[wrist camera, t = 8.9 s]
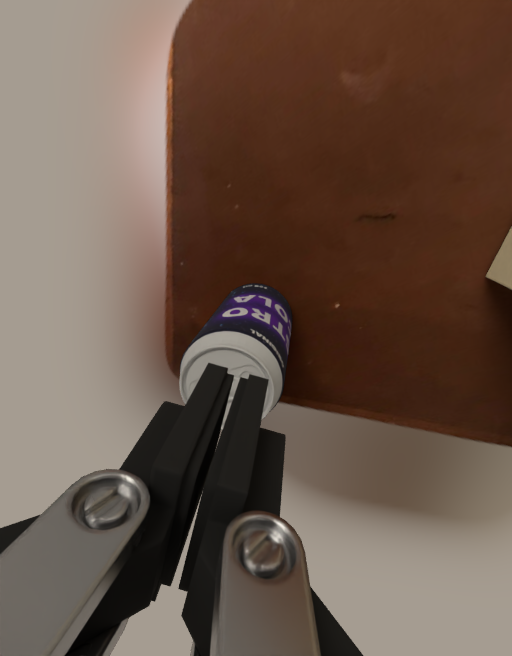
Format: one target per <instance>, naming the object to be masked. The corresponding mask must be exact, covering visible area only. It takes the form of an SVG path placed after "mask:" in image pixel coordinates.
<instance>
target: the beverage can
mask: <svg viewBox="0 0 512 656" xmlns="http://www.w3.org/2000/svg"><path fill="white" fill-rule="evenodd" d="M291 328H292V312H291V309H290V306H289V304H288V302H287V300H286V299H285V298H284V297H283V295H282V294H281V293H279V292H278V291H277V290H275V289H274V288H272V287H269V286H267V285H263V284H246V285H243V286H240V287H238V288H236V289H235V290H233V291H232V292H231V293H230V294H229V295H228V296H227V297H226V299H225V300H224V301H223V302H222V304H221V305H220V306H219V308H218V309H217V310H216V311H215V313H214V314H213V315H212V317H211V318H210V319H209V320H208V322H207V323H206V324H205V326H204V327H203V328H202V329H201V331H200V332H199V333H198V334H197V336H196V337H195V338H194V340H193V341H192V342H191V343H190V345H189V346H188V347H187V349H186V351H185V352H184V354H183V357H182V360H181V364H180V380H179V385H180V392H181V396H182V399H183V401H184V403H185V405H186V403H187V401H188V399H189V397H190V395H191V394H192V392H193V390H194V388H195V386H196V384H197V383H198V381H199V379H200V377H201V375H202V373H203V372H204V370H205V368H206V366H207V364H208V363H212V364H216V365H219V366H223V367H226V368H228V372H227V373H228V374H232V375H234V379H233V383H232V387H231V391H230V395H229V399H228V403H227V407H226V411H225V415H224V419H223V422H222V426H221V430H223V427H224V424H225V421H226V418H227V415H228V412H229V409H230V406H231V403H232V400H233V397H234V394H235V391H236V388H237V385H238V382H239V379H240V377H242V378H246V379H248V377H249V374H251V375H255V376H259V377H262V378H266V379H269V381H268V387H267V392H266V398H265V403H264V408H263V414H262V419H264V418H265V416H266V415H267V414H268V412H270V411H271V410H272V409H273V408H274V407H275V406H276V404H277V403H278V401H279V400H280V397H281V395H282V392H283V388H284V381H285V374H286V366H287V359H288V351H289V344H290V336H291ZM262 419H261V420H262Z"/></svg>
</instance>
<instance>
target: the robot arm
mask: <svg viewBox="0 0 512 656" xmlns="http://www.w3.org/2000/svg"><path fill="white" fill-rule="evenodd" d="M227 372H228V368H226V367H223V366H219V365H216V364H212V363H208V364H207V366H206V368H205V370H204V372H203V373H202V375H201V377H200V379H199V381H198V383H197V384H196V386H195V388H194V390H193V392H192V394H191V395H190V397H189V399H188V401H187V403H186V405H185V406H182V405H178V404H174V403H171V402H167V401H165V402H164V403H163V404H162V405H161V407H160V408H159V410H158V411H157V413H156V414H155V416H154V417H153V419H152V420H151V422H150V423H149V425H148V426H147V428H146V429H145V431H144V433H143V434H142V436H141V437H140V439H139V440H138V442H137V443H136V445H135V446H134V448H133V450H132V451H131V452H130V454H129V455H128V457H127V459H126V460H125V462H124V463H123V465H122V466H121V468H120V469H119V470H115V469H106V470H101V471H95V472H93V473H90V474H88V475H86V476H83V477H82V478H80V479H79V480H78V481H76V482H75V483H74V484H72V485H71V486H70V487H69V488H68V489H67V490H66V491H65V492H64V493H63V494H62V495H61V496H60V497H59V498H58V499H57V500H56V501H55V502H54V503H53V504H52V505H51V506H50V507H49V508H48V509H47V510H46V511H44V512H43V513H42V514H41V515H38V516H35V517H32V518H29V519H27V520H24V521H20V522H18V523H15V524H12V525H9V526H6V527H3V528H0V656H110V654H111V652H112V651H113V649H114V647H115V645H116V644H117V642H118V640H119V638H120V636H121V635H122V633H123V631H124V629H125V627H126V624H127V622H128V619H129V617H131V616H132V615H134V614H136V613H138V612H139V611H141V610H143V609H145V608H146V607H148V606H149V605H150V602H151V601H155V600H156V597H157V594H158V592H159V589H160V586H161V584H163V585H167V586H171V583H172V581H173V578H174V575H175V572H176V569H177V566H178V563H179V560H180V557H181V554H182V551H183V548H184V545H185V542H186V539H187V536H188V533H189V530H190V527H191V524H192V521H193V518H194V515H195V512H196V509H197V506H198V503H199V500H200V497H201V501H200V504H199V508H198V512H197V517H196V520H195V525H194V529H193V532H192V537H191V540H190V544H189V549H188V552H187V556H186V560H185V564H184V568H183V572H182V577H181V580H180V584H179V589H180V590H184V591H187V592H188V593H187V597H186V600H185V604H184V608H183V612H182V618H183V620H184V622H185V624H186V626H187V628H188V630H189V632H190V634H191V636H192V638H193V644H192V648H191V654H190V656H363V655H362V653H361V652H360V651H359V649H358V648H357V647H356V646H355V644H354V643H353V642H352V640H351V639H350V638H349V636H348V635H347V634H346V632H345V631H344V630H343V628H342V627H341V626H340V625H339V623H338V622H337V621H336V620H335V618H334V617H333V615H332V614H331V613H330V611H329V610H328V609H327V608H326V606H325V605H324V604H323V602H322V601H321V600H320V599H319V597H318V596H317V595H316V593H315V592H314V591H313V589H312V588H311V587H310V583H309V575H308V570H307V562H306V557H305V551H304V548H303V544H302V541H301V539H300V537H299V536H298V534H297V533H296V531H295V529H294V528H293V527H292V526H291V525H289V524H288V523H287V522H286V521H285V520H284V519H282V518H280V505H281V492H282V478H283V464H284V451H285V435H284V434H281V433H277V432H274V431H270V430H267V429H263V428H260V425H261V419H262V414H263V408H264V403H265V398H266V392H267V387H268V381H269V379H266V378H262V377H259V376H255V375H251V374H249V377H248V379H246V378H242V377H240V379H239V382H238V385H237V388H236V391H235V394H234V397H233V400H232V403H231V406H230V409H229V412H228V415H227V418H226V421H225V424H224V427H223V430H222V433H221V436H220V439H219V442H218V438H219V434H220V430H221V426H222V422H223V419H224V415H225V411H226V407H227V403H228V399H229V395H230V391H231V387H232V383H233V379H234V375H232V374H228V373H227ZM217 442H218V445H217ZM216 446H217V448H216ZM215 450H216V451H215ZM203 488H204V489H203ZM202 491H203V493H202ZM201 494H202V496H201Z"/></svg>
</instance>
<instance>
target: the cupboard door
mask: <svg viewBox="0 0 512 656" xmlns="http://www.w3.org/2000/svg"><path fill="white" fill-rule="evenodd" d="M486 277H487V278H489V279H491V280H493V281H495V282H497V283H499V284H501V285H503V286H505V287H507V288H509V289H511V290H512V227H511V229H510V231H509V233H508V234H507V236H506V238H505V240H504V242H503V244H502V246H501V248H500V250H499V252H498V254H497V256H496V257H495V259H494V261H493V263H492V265H491V267H490V269H489V271H488V273H487V275H486Z"/></svg>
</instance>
